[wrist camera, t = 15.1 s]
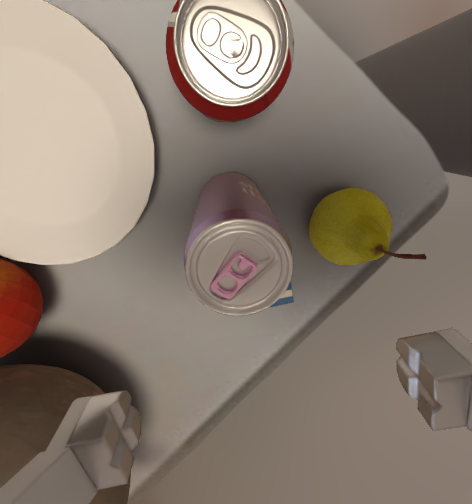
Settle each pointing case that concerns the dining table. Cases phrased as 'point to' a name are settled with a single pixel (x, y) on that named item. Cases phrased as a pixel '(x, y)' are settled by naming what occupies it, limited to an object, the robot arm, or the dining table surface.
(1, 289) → the fruit
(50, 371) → the bowl
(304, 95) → the dining table surface
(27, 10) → the plate
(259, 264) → the beverage can
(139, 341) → the dining table surface
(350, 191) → the fruit
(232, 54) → the soda can
